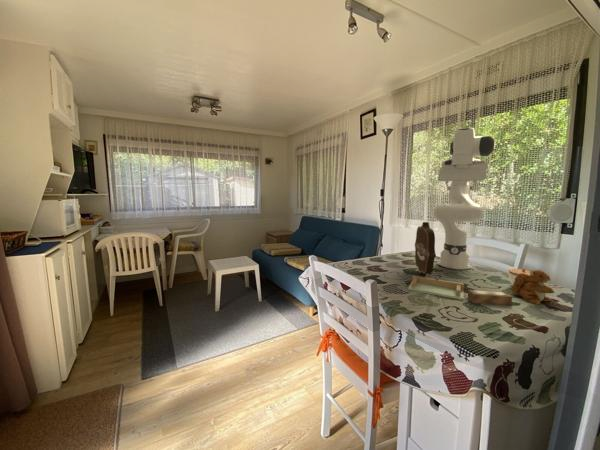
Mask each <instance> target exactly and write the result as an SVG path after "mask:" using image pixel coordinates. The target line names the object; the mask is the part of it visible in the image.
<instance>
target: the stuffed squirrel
mask: <svg viewBox="0 0 600 450" xmlns="http://www.w3.org/2000/svg"><path fill="white" fill-rule="evenodd" d="M528 271H529V272H530V276H529V275H527V274H523V273H520V274H518V275H517V277H516V278H515V282H514V283H513V284H512V287H511V291H512V293H513V294H514V295H515V296H518V297H521V298H523V300H524V301H526V302H528V303H531V304H534V305H537V306H539V305H541V302H548V301H551V302H552V299H551V298H550V297H549V296H546V294H547V293H548V294H553V293H554V289H553V288H552V287H549V286H547V285H545V284H547V283H548V282H550V281H552V280H551V278H550V276H549V275H548V274H547V273H546V272H544V271H543V270H540V269H536V270H535V269H534V270H528Z"/></svg>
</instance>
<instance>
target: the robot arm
mask: <svg viewBox="0 0 600 450" xmlns="http://www.w3.org/2000/svg"><path fill="white" fill-rule="evenodd" d="M495 147H496V141H495V138H494V137H493V136H492V135H491V134H486V135H481V136H475V128H474V127H464V128H463V127H462V128H457V129H456V130H455V133H454V137H453V141H451V142H450V149H449V154H450V155H451V157H449V158H448V159H447V160H443V161H442V162H441V167H440V168H439V170H438V174H437V181H438V182H445V183H444V184H445V186H446V187H447V188H446V191H448V192H449V193H448V200H449V202H450V203H442V204H441V203H440V204H438V205H437V206H435V208H434V209H433V216H434V218H435V219H436V220H437V221H438V222H439V223H440V224H441V225H442V227H443V228H444V234H445V235H444V236H445V239H444V243H443V250H442V251H440V255H439V256H440V257H439V261H436V263H435V264H436V265H439V266H441V267H443V268H447V269H454V270H469V269H470V270H471V269H473V268H472V265H470V263H469V261H470V260H469V257H470V255H469V253H467V248H468V247H467V235H468V234H467V231H466V230H465V229H463V228H461V227H459V226H458V225H457V224H456V223H470V224H471V223H476V222H481V220H482V219H483V218H484V215H485V212H484V211H485V210H484V208H483V207H482V206H481V205H480V204H477V203H475V202H474V201H473V200H472V199H471V196H470V191H474V187H475V186H476V184H477V183H478V181H485V180H486V179H487V170H488V167H489V163H488V162H487V161H485V160H481V159H479V158H477V157H489V156H490V155H491V154H492V153H493V151H494V150H495ZM470 181H471V182H472V183H473V184H472V185H471V186H470ZM449 182H451V183H450V185H449Z"/></svg>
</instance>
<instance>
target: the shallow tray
mask: <svg viewBox="0 0 600 450" xmlns="http://www.w3.org/2000/svg"><path fill="white" fill-rule="evenodd" d="M407 289H408V291H414V292H419V293H423V294H428V295H433V296H434V295H435V296H439V297H444V298H451V299H455V300H459V301H460V300H461V301H464V299H465V297H464V291H465V290H464V289H465V283H464V282H463V283H462V282H456V281H450V280H443V279H439V277H438V276H437V277H435V278H431V277H426V276H420V275H414V274H413V275H412V276H411V282H410V284H409V285H408V288H407Z"/></svg>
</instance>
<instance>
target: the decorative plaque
mask: <svg viewBox="0 0 600 450" xmlns="http://www.w3.org/2000/svg"><path fill="white" fill-rule="evenodd" d="M415 235H416V237H415V243H414V249H415V251H414V261H415V262H414V263H415V265H416V267H417V268H418V269H417V270H418V271H419V272H418V273H419V276H420V275H422V276H421V277H426V275H432V273H433V271H434V263H435V259H436V256H437V255H436V246H435V245H436V237H435V236H436V235H435V231H434V230H433V229H432V228H431V227H430V223H429V221H428V222H427V221H426V222H425V221H423V222H422V224H421V226H417V228H416V233H415Z"/></svg>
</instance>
